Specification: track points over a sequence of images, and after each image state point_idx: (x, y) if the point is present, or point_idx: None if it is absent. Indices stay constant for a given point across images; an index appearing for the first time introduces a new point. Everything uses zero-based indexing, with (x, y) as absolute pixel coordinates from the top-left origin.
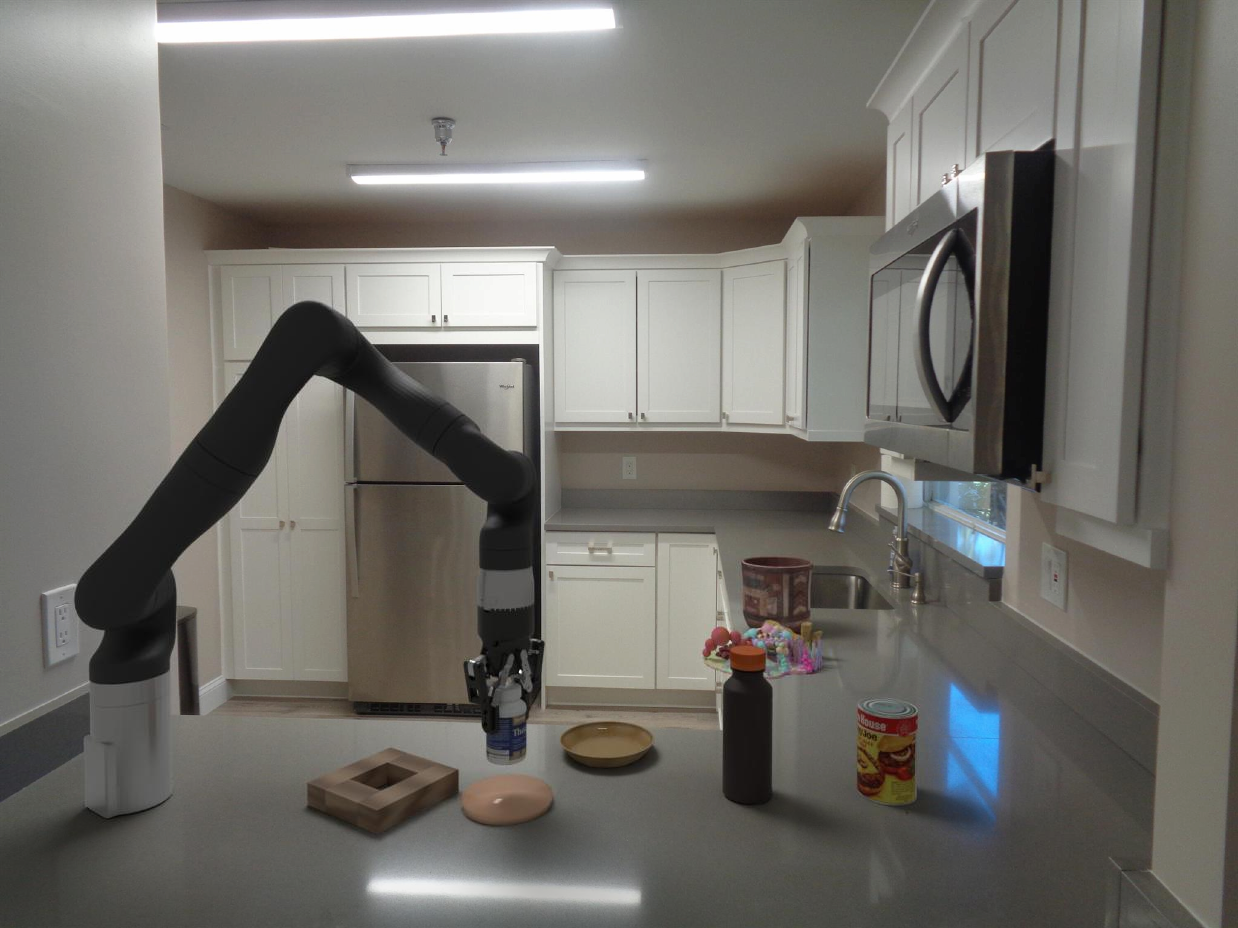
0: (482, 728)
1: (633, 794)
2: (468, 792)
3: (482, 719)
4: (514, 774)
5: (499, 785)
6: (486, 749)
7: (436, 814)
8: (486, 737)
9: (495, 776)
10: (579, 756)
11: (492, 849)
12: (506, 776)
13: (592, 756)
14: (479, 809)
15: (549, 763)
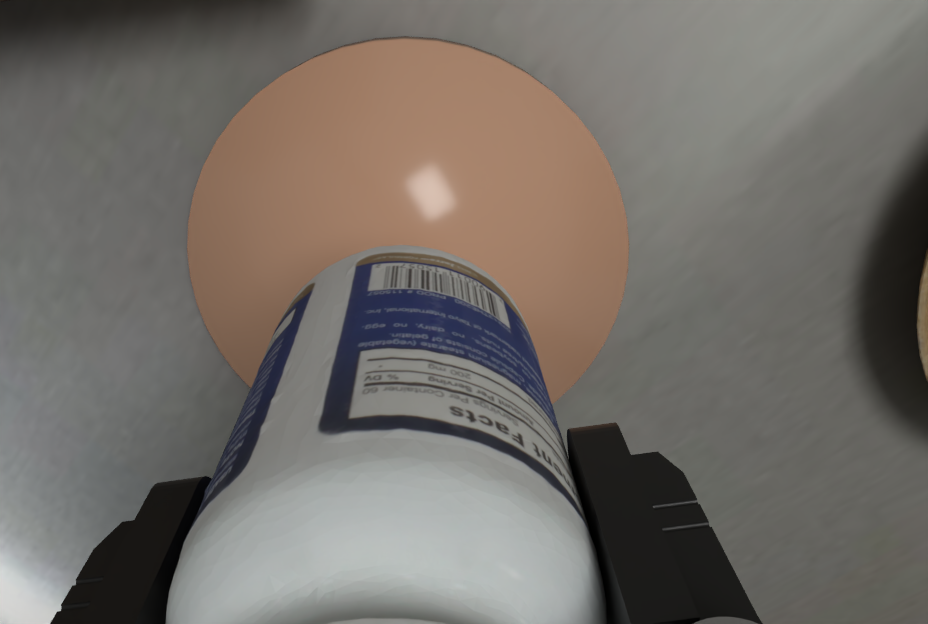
0: (114, 531)
1: (772, 541)
2: (281, 112)
3: (69, 609)
4: (590, 134)
5: (448, 173)
6: (271, 339)
7: (92, 94)
8: (253, 383)
9: (508, 69)
10: (920, 279)
11: (148, 473)
12: (546, 118)
13: (926, 353)
14: (222, 295)
15: (871, 89)
